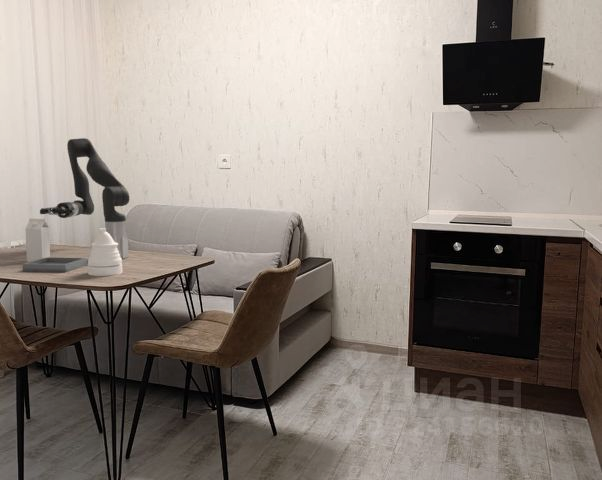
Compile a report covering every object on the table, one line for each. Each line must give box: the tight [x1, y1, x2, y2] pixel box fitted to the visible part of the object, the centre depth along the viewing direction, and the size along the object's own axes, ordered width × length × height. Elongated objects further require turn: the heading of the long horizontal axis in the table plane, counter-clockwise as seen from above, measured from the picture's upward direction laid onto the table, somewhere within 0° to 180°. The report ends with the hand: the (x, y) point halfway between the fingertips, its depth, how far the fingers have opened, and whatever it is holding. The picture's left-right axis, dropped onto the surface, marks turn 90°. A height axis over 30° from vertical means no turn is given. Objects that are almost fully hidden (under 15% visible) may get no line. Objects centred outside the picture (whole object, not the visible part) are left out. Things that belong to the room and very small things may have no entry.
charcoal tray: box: [22, 256, 88, 273], centre depth 230 cm, size 18×18×3 cm
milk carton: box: [25, 218, 51, 263], centre depth 247 cm, size 7×7×19 cm
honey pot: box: [87, 227, 123, 277], centre depth 219 cm, size 13×13×18 cm
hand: (49, 212), depth 256 cm, fingers open, 8 cm apart
